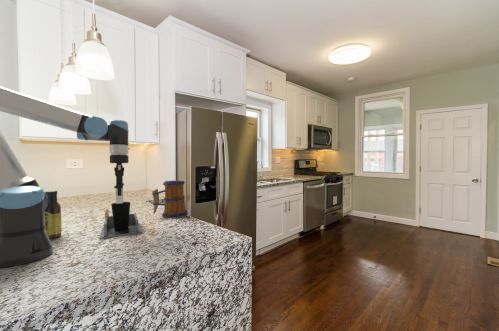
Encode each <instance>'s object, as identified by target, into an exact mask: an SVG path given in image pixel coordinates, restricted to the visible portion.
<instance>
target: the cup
mask: <svg viewBox="0 0 499 331" xmlns="http://www.w3.org/2000/svg"><path fill="white" fill-rule="evenodd" d="M110 205H111V213H112V216H113V222H114V230H115V231H124V230H127V229H128V226H129V214H131V213H130V211H131V202H130V201H123V203H119V204H116V202H113V203H111V204H110Z"/></svg>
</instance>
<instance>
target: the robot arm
mask: <svg viewBox="0 0 499 331" xmlns="http://www.w3.org/2000/svg"><path fill="white" fill-rule="evenodd" d="M0 112H2V113H6V114H9V115H12V116H16V117H21V118H24V119H27V120H30V121H31V120H32V121H35V122H38V123H41V124H45V125H49V126H52V127H55V128H56V127H57V128H60V129H64V130H66V131H71V132H74V133H76V138H77V139H78V140H81V141H82V140H84V141H103V142H109V144H108V145H109V154H110V155H109V164H116V165H115V167H113V168H114V169H113V170H114V177H115V180H116V181H115V185H114V186H113V187H114V189H115V203H116V204H119V203H123V202H124V186H125V183H124V181H123V179H124V178H123V176H124V172H125V167H124V166H123V165H124V164H128V163H129V155H128V154H129V150H130V149H131V147H129V124H128V123H129V122H127V121H126V120H122V119H110V120H109V122H107V121H106V120H105V119H104V118H103V117H101V116H97V115H95V116H93V115H89V114H85V113H82V112H79V111H76V110H73V109H70V108H67V107H64V106H61V105H58V104H55V103H52V102H48V101H45V100H43V99H40V98H36V97H33V96H30V95H26V94H24V93H21V92H18V91H15V90H12V89H9V88H5V87H3V86H0ZM1 131H2V130H0V268H7V267H8V268H9V267H14V266H20V265H24V264H29V263H32V262H36V261H39V260H41V259H44V258H47V257H49V256H50V255H51V254H53V252H54V250H53V247H54V246H53V243H52V241H51V240H50V239H51V238H50V239H49V237H48V235H47V233H46V231H45V209H46V208H47V205H48V197H47V195H46V193H45V191H44V188H43V187H41V186H40V185H39V183H38V182H37V179H36V178H34V177H30V176H28V175H27V173H26V171H25V170H24V167H22V165H21V163H20V161H19V160H18V158H17V156H16V155H15V152H14V151H13V150H12V148H11V146H10V145H9V142H8V141H7V139H6V138H5V136H4V134H3V133H2V132H1Z"/></svg>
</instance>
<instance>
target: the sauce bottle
mask: <svg viewBox="0 0 499 331" xmlns="http://www.w3.org/2000/svg"><path fill="white" fill-rule="evenodd" d="M44 192H45V193H46V195H47V197H48V205H47V208H46V209H45V231H46V233H47V235H48V237H49V238H50V239H56V238H59V237H61V235H62V232H63V230H62V210H61V208H62V206H61V204H60V203H59V201H58V190H55V189H53V190H46V191H44Z"/></svg>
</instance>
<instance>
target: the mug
mask: <svg viewBox="0 0 499 331" xmlns="http://www.w3.org/2000/svg"><path fill="white" fill-rule="evenodd" d="M185 183H186V182H185V180H182V179H181V180H179V179H178V180H175V179H174V180H165V181H164V182H163V183H162V185H163V186H164V189H162V190H161V191H159V190H158V188H155V189H154V190H152V192H151V193H152V194H151V195H152V199H153V203H152V205H153V215H154V214H156V212H157V210H158V207H159V206H164V210H163V213H162V216H161V217H162V218H163V217H164V218H163V219H169V218H172V219H180V218H179V217H181V218H184V216H185V215H186V216H185V217H187V216H189V214H188V210H187V209H186V203H185V192H184V185H185ZM163 193H164V203H161V202H160V194H163ZM159 202H160V203H159Z"/></svg>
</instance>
